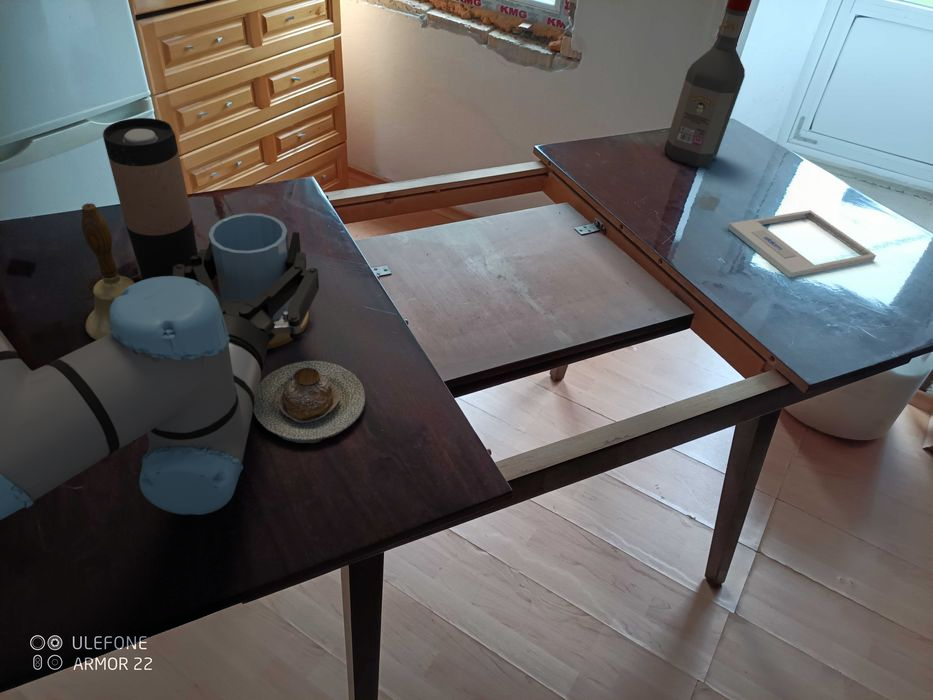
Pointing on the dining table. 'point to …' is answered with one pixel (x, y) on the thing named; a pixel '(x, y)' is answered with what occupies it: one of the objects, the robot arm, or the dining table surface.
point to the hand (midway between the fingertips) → (258, 240)
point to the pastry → (309, 401)
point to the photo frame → (786, 255)
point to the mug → (249, 256)
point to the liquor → (709, 95)
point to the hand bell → (102, 271)
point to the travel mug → (152, 194)
